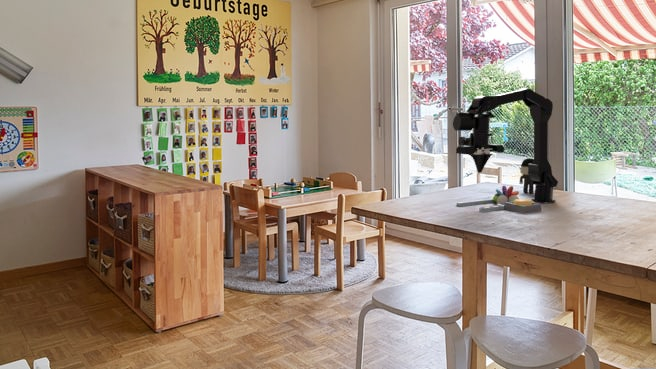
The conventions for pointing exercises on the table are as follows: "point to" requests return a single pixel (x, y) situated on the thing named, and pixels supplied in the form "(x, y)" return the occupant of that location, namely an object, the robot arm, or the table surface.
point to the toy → (526, 176)
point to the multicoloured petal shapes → (505, 195)
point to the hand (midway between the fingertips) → (479, 172)
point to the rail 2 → (491, 208)
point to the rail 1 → (475, 202)
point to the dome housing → (523, 207)
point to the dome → (522, 202)
